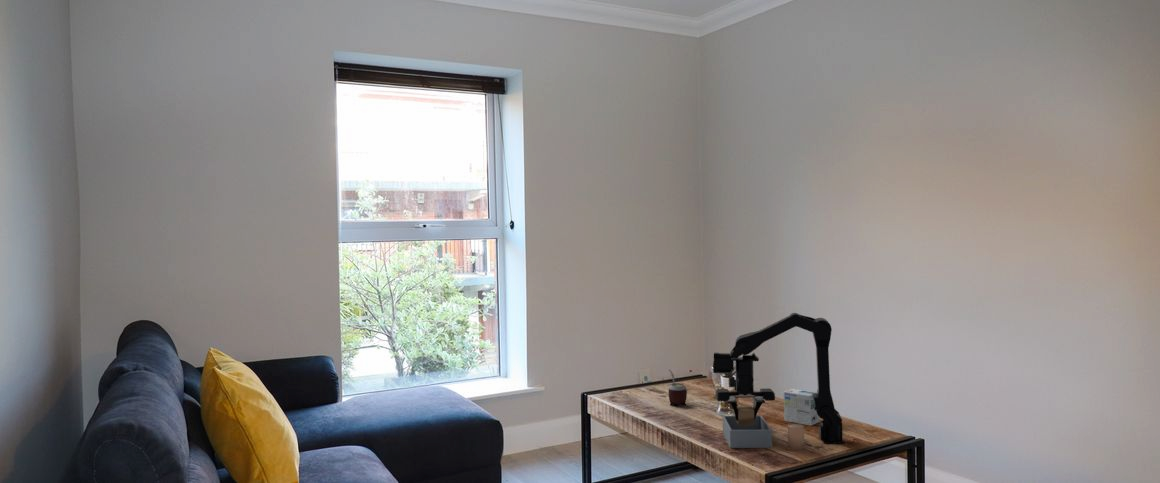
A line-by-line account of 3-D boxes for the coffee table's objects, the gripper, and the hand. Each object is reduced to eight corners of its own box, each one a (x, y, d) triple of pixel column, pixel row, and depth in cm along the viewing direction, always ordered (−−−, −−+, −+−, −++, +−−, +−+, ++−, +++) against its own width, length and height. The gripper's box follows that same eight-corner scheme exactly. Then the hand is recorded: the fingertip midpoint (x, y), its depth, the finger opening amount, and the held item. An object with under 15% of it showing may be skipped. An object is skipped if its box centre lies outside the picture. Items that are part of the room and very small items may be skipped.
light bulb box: (820, 422, 269) (819, 391, 268) (811, 426, 264) (811, 395, 264) (792, 417, 276) (792, 387, 276) (783, 421, 271) (783, 391, 271)
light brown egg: (802, 445, 243) (801, 423, 243) (806, 450, 238) (805, 428, 238) (786, 445, 243) (786, 423, 243) (789, 450, 238) (789, 428, 238)
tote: (761, 431, 258) (761, 415, 258) (772, 447, 241) (772, 430, 241) (722, 432, 259) (722, 415, 259) (730, 447, 242) (730, 430, 242)
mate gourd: (685, 402, 300) (684, 364, 299) (688, 407, 292) (688, 369, 292) (666, 403, 300) (665, 365, 299) (669, 408, 292) (668, 369, 291)
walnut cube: (754, 425, 250) (754, 410, 250) (738, 425, 250) (738, 410, 250) (751, 421, 255) (751, 406, 255) (736, 421, 255) (736, 406, 255)
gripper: (768, 368, 259) (768, 413, 260) (713, 369, 260) (713, 414, 261) (775, 375, 248) (775, 422, 249) (717, 376, 249) (718, 423, 250)
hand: (745, 420), depth 252 cm, fingers closed on walnut cube, 5 cm apart
